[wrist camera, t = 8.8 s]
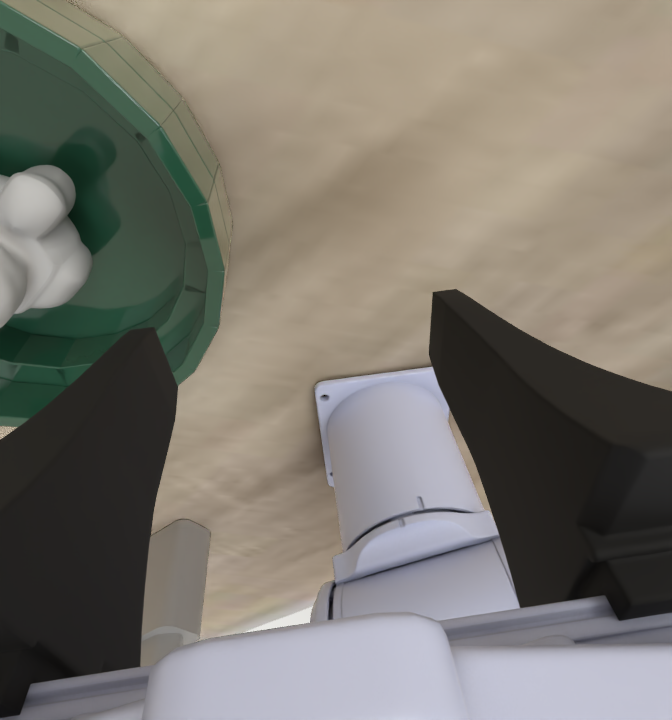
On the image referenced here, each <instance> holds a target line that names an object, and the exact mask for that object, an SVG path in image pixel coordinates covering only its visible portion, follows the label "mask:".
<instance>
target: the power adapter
mask: <svg viewBox="0 0 672 720" xmlns="http://www.w3.org/2000/svg"><path fill="white" fill-rule="evenodd" d="M210 537H211V532H210V531H209V530H208V529H206V528H204V527H202V526H200V525H198V524H196V523H194V522H192V521H190V520H184V519H183V520H178V521H175V522H174V523H172V524H170V525H169V526H167V527H165V528H164V529H162V530H160V531H159V532H157V533H155V534H154V535H152V536H150V543H149V552H148V562H147V572H146V582H145V594H144V608H143V622H142V639H141V661H140V667H143V666H150V665H155V664H156V663H157V662H158V661H159V660H161V659H162V658H163V657H165V656H166V655H167V654H169V653H170V652H171V651H173V650H174V649H175V648H177V647H180V646H183V645H187V644H190V643H194V642H196V641H197V640H199V638H200V630H201V621H202V611H203V602H204V593H205V583H206V574H207V565H208V556H209V546H210Z"/></svg>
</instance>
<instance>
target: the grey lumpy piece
mask: <svg viewBox="0 0 672 720" xmlns="http://www.w3.org/2000/svg"><path fill="white" fill-rule="evenodd" d="M75 199H76V192H75V186H74V183H73V181H72V180H71V178H70V177H69V176H68V175H67V174H66V173H65V172H64V171H62V170H61V169H60V168H58V167H55V166H52V165H38V166H34V167H31V168H29V169H27V170H25V171H23V172H19V173H15V174H13V175H12V176H11V177H7V176H4V175H0V328H1V327H2V326H4V325H5V324H6V323H7V322H8V320H9V319H10V318H11V317H12V315H13V314H19V313H23V312H25V311H26V310H28V309H30V308H41V309H42V308H52V307H56V306H60V305H62V304H64V303H66V302H68V301H69V300H70V299H71V298H72V297H73V296H74V295H75V294H76V293H77V291H78V290H79V289H80V288H81V287H82V286H83V285H84V284H85V282H86V281H87V279H88V276H89V273H90V271H91V268H92V256H91V253H90V251H89V249H88V248H87V247H86V246H85V245H84V244H83V243H82V242H81V239H80V235H79V233H78V231H77V229H76V227H75V226H74V224H73V223H72V221H71V220H70V219H69V217H68V216H67V215H68V214H69V212H70V211H71V209H72V208H73V206H74V203H75Z"/></svg>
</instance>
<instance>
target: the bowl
mask: <svg viewBox="0 0 672 720" xmlns="http://www.w3.org/2000/svg"><path fill="white" fill-rule="evenodd" d="M182 99H183V98H182V97H181V95H180V94H179V93H178V92H177V91H176V90H175V89H174V88H173V87H172V86H171V85H170V84H169V83H168V82H167V81H166V80H165V79H164V78H163V77H162V76H161V75H160V74H159V73H158V72H157V71H156V69H155V68H154V67H153V66H152V65H151V64H150V63H149V62H148V61H147V60H146V59H145V58H144V57H143V56H142V55H141V54H140V53H139V52H138V51H137V50H136V49H135V48H134V47H133V46H132V44H131V43H130V42H129V41H128V40H127V39H126V38H124V37H123V36H122V35H121V34H120V33H118V32H116V31H115V30H113V29H111V28H110V27H108V26H107V25H105V24H103V23H102V22H100V21H98V20H97V19H95V18H94V17H92V16H90V15H89V14H87V13H85V12H84V11H82V10H81V9H79V8H77V7H76V6H74V5H72V4H71V3H69V2H68V1H66V0H0V175H4V176H7V177H11V176H12V175H13V174H15V173H19V172H23V171H25V170H27V169H29V168H31V167H34V166H38V165H52V166H55V167H58V168H60V169H61V170H62V171H64V172H65V173H66V174H67V175H68V176H69V177H70V178H71V180H72V181H73V183H74V186H75V192H76V199H75V203H74V206H73V208H72V209H71V211H70V212H69V214H68V215H67V216H68V217H69V219H70V220H71V221H72V223H73V224H74V226H75V227H76V229H77V231H78V233H79V235H80V239H81V242H82V243H83V244H84V245H85V246H86V247H87V248H88V249H89V251H90V253H91V256H92V268H91V271H90V273H89V276H88V279H87V281H86V282H85V284H84V285H83V286H82V287H81V288H80V289H79V290H78V291H77V293H76V294H75V295H74V296H73V297H72V298H71V299H70V300H69V301H68V302H66V303H64V304H62V305H60V306H56V307H52V308H42V309H41V308H30V309H28V310H26V311H25V312H23V313H19V314H13V315H12V317H11V318H10V319H9V320H8V322H7V323H6V324H5V325H4V326H2V327H1V328H0V426H8V427H19V426H20V425H22V424H23V423H25V422H26V421H27V420H29V419H30V418H31V417H32V416H34V415H35V414H36V413H38V412H39V411H40V410H41V409H43V408H44V407H45V406H46V405H47V404H49V403H50V402H51V401H52V400H53V399H54V398H56V397H57V396H58V395H59V394H60V393H61V392H63V391H64V390H65V389H66V388H67V387H68V386H70V385H71V384H72V383H73V382H74V381H75V380H76V379H78V378H79V377H80V376H81V375H82V374H83V373H84V372H85V371H86V370H87V369H88V368H89V367H90V366H91V365H92V364H93V363H95V362H96V361H97V360H98V359H99V358H100V357H101V356H102V355H103V354H104V353H105V352H106V351H107V350H108V349H109V348H110V347H111V346H112V345H114V344H115V343H116V342H117V341H118V340H119V339H120V338H121V337H122V336H123V335H125V334H126V333H127V332H128V331H130V330H134V329H142V328H150V327H154V328H155V330H156V333H157V335H158V338H159V340H160V343H161V345H162V348H163V350H164V353H165V355H166V358H167V360H168V363H169V365H170V368H171V371H172V373H173V376H174V378H175V381H176V383H177V386H178V385H179V384H181V383H182V382H183V381H184V380H185V379H187V378H188V377H189V376H190V375H191V374H193V373H194V372H195V370H196V369H197V367H198V366H199V364H200V362H201V360H202V358H203V356H204V355H205V353H206V351H207V349H208V347H209V345H210V343H211V342H212V340H213V338H214V336H215V334H216V332H217V330H218V329H219V325H220V319H221V313H222V306H223V299H224V292H225V286H226V279H227V273H228V264H229V254H230V245H231V236H232V227H233V225H232V223H233V221H232V217H231V212H230V208H229V203H228V199H227V194H226V190H225V185H224V181H223V176H222V172H221V168H220V164H218V160H217V158H216V156H215V155H214V153H213V151H212V149H211V147H210V146H209V144H208V142H207V140H206V138H205V137H204V135H203V133H202V131H201V129H200V128H199V126H198V124H197V122H196V120H195V119H194V117H193V115H192V113H191V111H190V110H189V108H188V106H187V104H186V102H185V101H184V100H182Z"/></svg>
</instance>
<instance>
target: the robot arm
mask: <svg viewBox="0 0 672 720" xmlns="http://www.w3.org/2000/svg"><path fill="white" fill-rule="evenodd" d="M429 356H430V360H431V363H432V366H433V367H426V368H418V369H411V370H403V371H395V372H388V373H380V374H373V375H365V376H357V377H350V378H342V379H335V380H327V381H321V382H318V383H317V384H316V385H315V388H314V389H315V397H316V404H317V411H318V418H319V425H320V432H321V439H322V446H323V453H324V460H325V467H326V474H327V481H328V485H329V486H331V487H334V488H335V496H336V504H337V511H338V519H339V526H340V534H341V542H342V549H343V553H341V554H338V555H335V556H333V558H332V559H333V568H334V577H335V580H333V581H330V582H326V583H324V584H323V585H322V586H321V588H320V590H319V592H318V595H317V599H316V601H315V603H314V605H313V609H312V613H311V619H310V623H306V624H299V625H293V626H287V627H280V628H274V629H267V630H261V631H254V632H247V633H241V634H234V635H227V636H221V637H214V638H209V639H205V640H201V641H198V642H194V643H190V644H187V645H183V646H180V647H177V648H175V649H174V650H173V651H171V652H170V653H169V654H167V655H166V656H165V657H163V658H162V659H161V660H159V661H158V662H157V663H156V664H155V665H150V666H143V667H140V661H141V639H142V622H143V608H144V594H145V582H146V572H147V562H148V552H149V543H150V535H151V528H152V520H153V512H154V506H155V501H156V496H157V492H158V488H159V484H160V480H161V476H162V472H163V468H164V464H165V460H166V456H167V452H168V448H169V443H170V439H171V435H172V431H173V426H174V422H175V415H176V405H177V392H178V386H177V383H176V381H175V378H174V376H173V373H172V371H171V368H170V365H169V363H168V360H167V358H166V355H165V353H164V350H163V348H162V345H161V343H160V340H159V338H158V335H157V333H156V330H155V328H154V327H150V328H142V329H134V330H130V331H128V332H127V333H126V334H125V335H123V336H122V337H121V338H120V339H119V340H118V341H117V342H116V343H115V344H114V345H112V346H111V347H110V348H109V349H108V350H107V351H106V352H105V353H104V354H103V355H102V356H101V357H100V358H99V359H98V360H97V361H96V362H95V363H93V364H92V365H91V366H90V367H89V368H88V369H87V370H86V371H85V372H84V373H83V374H82V375H81V376H80V377H79V378H78V379H76V380H75V381H74V382H73V383H72V384H71V385H70V386H68V387H67V388H66V389H65V390H64V391H63V392H61V393H60V394H59V395H58V396H57V397H56V398H54V399H53V400H52V401H51V402H50V403H49V404H47V405H46V406H45V407H44V408H43V409H41V410H40V411H39V412H38V413H36V414H35V415H34V416H32V417H31V418H30V419H29V420H27V421H26V422H25V423H23V424H22V425H20V426H19V427H18V428H16V429H15V430H14V431H12V432H11V433H9V434H8V435H7V436H5V437H4V438H2V439H1V440H0V720H672V391H668V390H665V389H661V388H658V387H654V386H651V385H647V384H644V383H641V382H638V381H635V380H632V379H629V378H626V377H623V376H620V375H617V374H615V373H612V372H609V371H606V370H604V369H601V368H598V367H596V366H593V365H591V364H588V363H586V362H583V361H581V360H579V359H577V358H575V357H572V356H570V355H568V354H566V353H563V352H561V351H559V350H557V349H555V348H553V347H551V346H549V345H547V344H545V343H543V342H541V341H540V340H538V339H536V338H534V337H532V336H530V335H529V334H527V333H525V332H523V331H522V330H520V329H518V328H516V327H515V326H513V325H512V324H510V323H508V322H507V321H505V320H503V319H502V318H500V317H499V316H497V315H496V314H494V313H493V312H491V311H489V310H488V309H486V308H485V307H483V306H482V305H480V304H479V303H477V302H476V301H474V300H473V299H471V298H470V297H468V296H467V295H465V294H463V293H462V292H460V291H458V290H457V289H453V290H445V291H437V292H433V299H432V314H431V329H430V344H429ZM322 395H327V396H325V397H322ZM449 410H450V411H451V413H452V415H453V417H454V419H455V421H456V423H457V425H458V427H459V429H460V431H461V434H462V436H463V438H464V440H465V442H466V444H467V446H468V448H469V450H470V453H471V455H472V457H473V460H474V462H475V464H476V467H477V470H478V473H479V476H480V479H481V481H482V484H483V487H484V490H485V493H486V496H487V499H488V502H489V505H490V508H491V511H492V514H493V517H494V520H495V522H494V520H493V517H492V515H491V513H490V511H489V510H484V508H483V506H482V503H481V501H480V498H479V496H478V494H477V491H476V489H475V486H474V484H473V482H472V479H471V477H470V474H469V472H468V470H467V467H466V465H465V462H464V460H463V457H462V455H461V453H460V450H459V448H458V445H457V443H456V441H455V438H454V436H453V433H452V431H451V429H450V426H449V424H448V419H449ZM495 523H496V524H495Z"/></svg>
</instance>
